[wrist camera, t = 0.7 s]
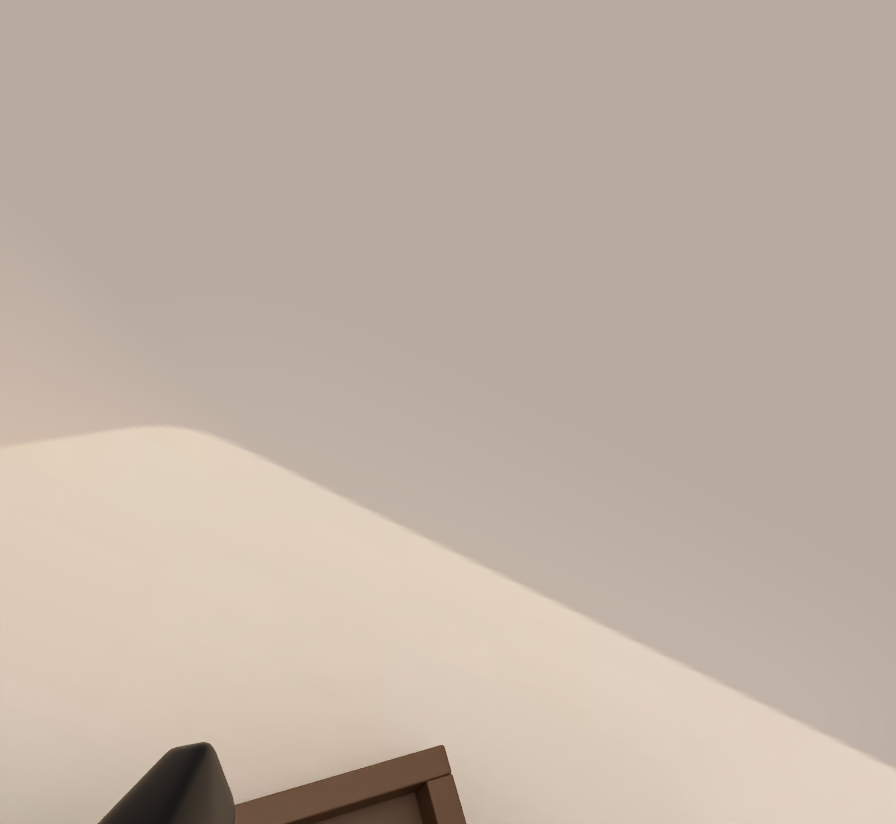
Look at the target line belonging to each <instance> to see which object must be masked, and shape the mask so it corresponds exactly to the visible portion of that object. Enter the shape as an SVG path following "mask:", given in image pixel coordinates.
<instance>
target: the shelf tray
mask: <svg viewBox="0 0 896 824" xmlns="http://www.w3.org/2000/svg"><path fill="white" fill-rule="evenodd" d="M234 807H235V824H466V821H465V817H464V814H463V810H462V807H461V803H460V800H459V796H458V793H457V789H456V786H455V782H454V779H453V775H452V774H451V769H450V765H449V762H448V758H447V755H446V751H445V748H444V746H443V745H440V746H436V747H433V748H429V749H426V750H423V751H419V752H416V753H412V754H409V755H405V756H402V757H399V758H395V759H392V760H388V761H385V762H381V763H378V764H375V765H371V766H368V767H364V768H361V769H357V770H354V771H351V772H347V773H344V774H340V775H337V776H333V777H330V778H327V779H323V780H320V781H316V782H313V783H309V784H306V785H303V786H299V787H296V788H292V789H289V790H285V791H282V792H279V793H275V794H272V795H268V796H265V797H261V798H258V799H255V800H251V801H248V802H244V803H241V804H237V805H234Z"/></svg>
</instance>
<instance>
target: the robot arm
mask: <svg viewBox="0 0 896 824" xmlns="http://www.w3.org/2000/svg"><path fill="white" fill-rule="evenodd" d="M98 824H235V807H234V801H233V797H232V794H231V791H230V788H229V786H228V783H227V780H226V778H225V775H224V772H223V770H222V767H221V764H220V762H219V759H218V757H217V754H216V752H215V750H214V748H213V747H212V746H211V744H209V743H205V742H201V743H196V744H190V745H185V746H180V747H176V748H173V749H171V750H169V751H168V752H167V753H166V754H165V755H164V756H163V757H162V758H161V759H160V760H159V761H158V762H157V763H156V764H155V765H154V766H153V767H152V768H151V769H150V770H149V771H148V772H147V773H146V774H145V775H144V776H143V777H142V779H141V780H140V781H139V782H138V783H137V784H136V785H135V786H134V787H133V788H132V789H131V790H130V791H129V792H128V793H127V794H126V795H125V796H124V797H123V798H122V799H121V800H120V801H119V802H118V803H117V804H116V805H115V806H114V808H113V809H112V810H111V811H110V812H109V813H108V814H107V815H106V816H105V817H104V818H103V819H102V820H101V821H100V822H99V823H98Z"/></svg>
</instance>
